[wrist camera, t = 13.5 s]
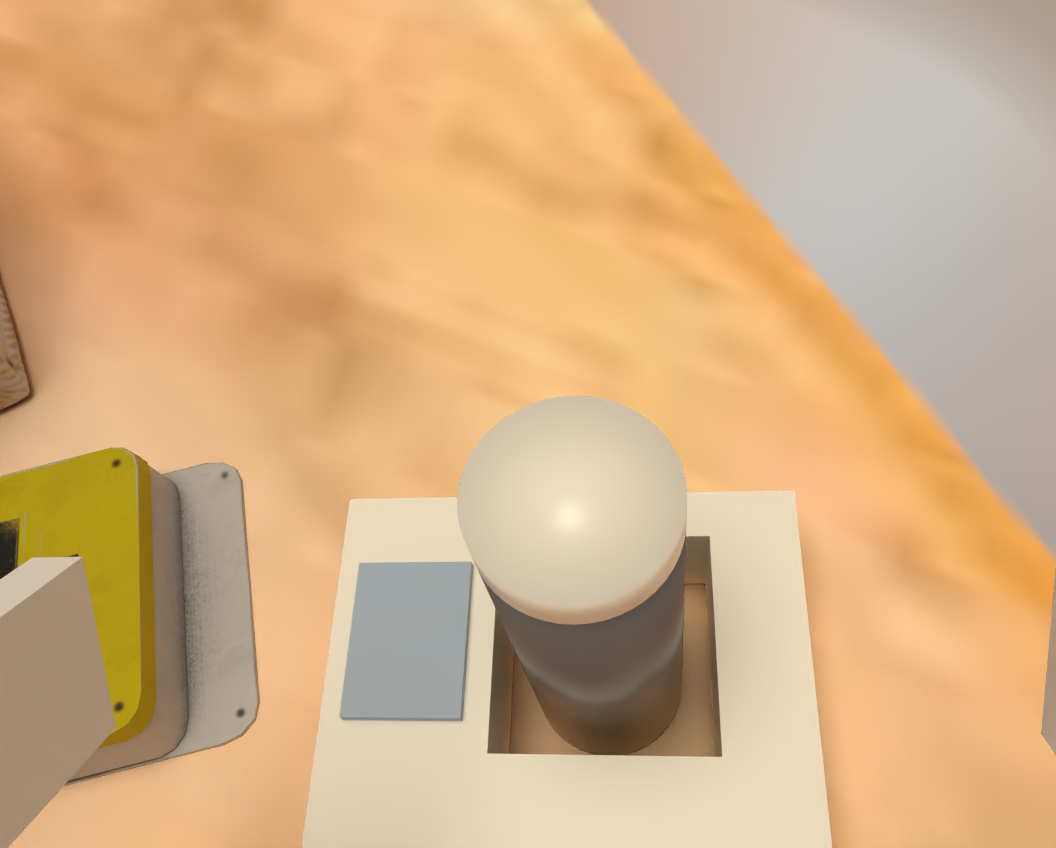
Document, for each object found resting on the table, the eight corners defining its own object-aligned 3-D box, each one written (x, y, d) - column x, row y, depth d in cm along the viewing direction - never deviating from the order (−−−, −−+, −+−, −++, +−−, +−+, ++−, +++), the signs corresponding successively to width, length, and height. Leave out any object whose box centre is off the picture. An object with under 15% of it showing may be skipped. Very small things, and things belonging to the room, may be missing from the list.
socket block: (304, 1202, 22) (241, 1239, 19) (382, 547, 30) (347, 494, 27) (848, 1243, 21) (881, 1292, 18) (781, 542, 29) (795, 485, 25)
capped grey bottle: (535, 754, 27) (448, 605, 16) (540, 612, 29) (465, 399, 18) (684, 757, 26) (692, 604, 16) (678, 612, 28) (682, 391, 18)
